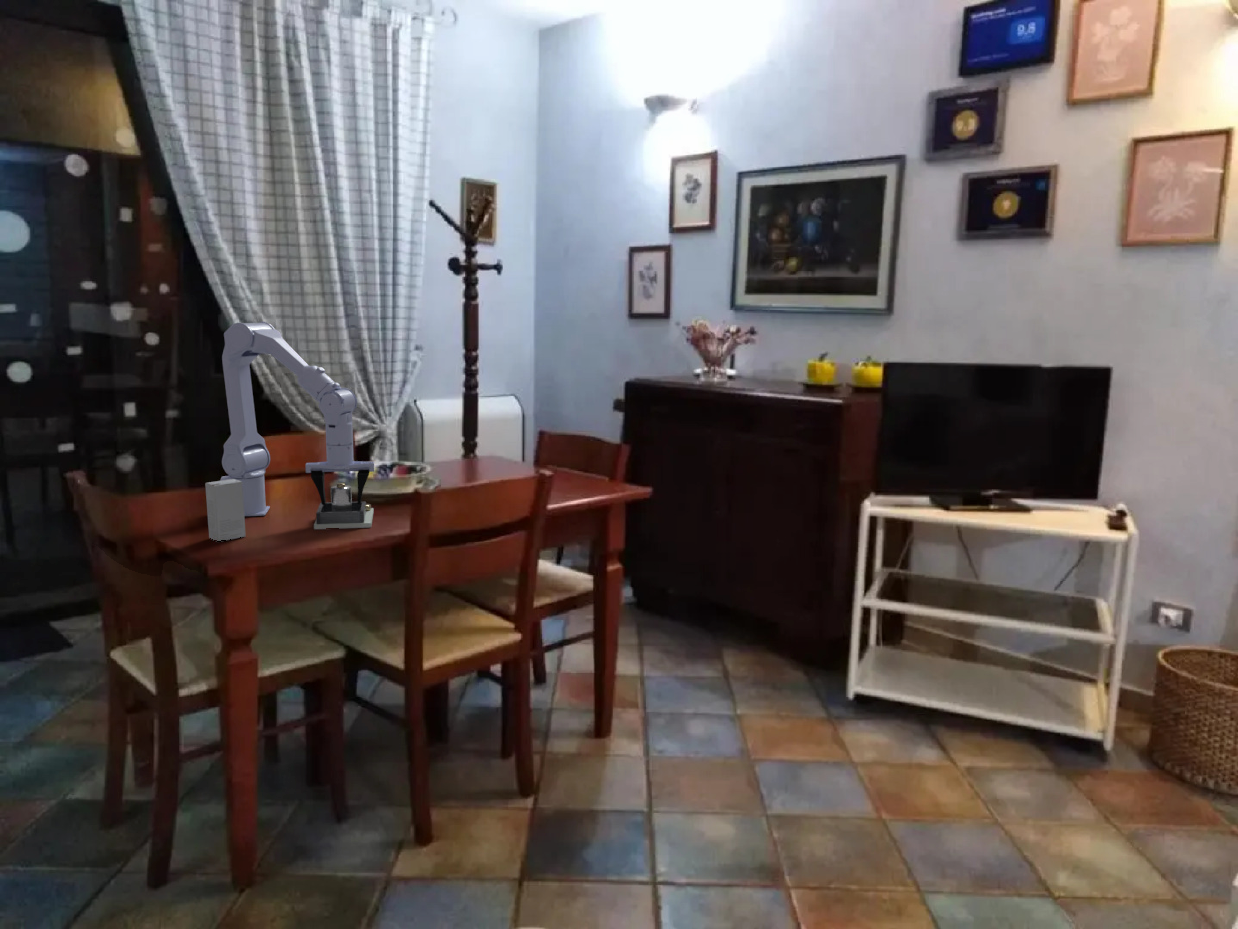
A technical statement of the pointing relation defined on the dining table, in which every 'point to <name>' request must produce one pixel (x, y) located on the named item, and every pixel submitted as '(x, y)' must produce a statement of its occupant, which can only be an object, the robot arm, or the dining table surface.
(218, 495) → the skincare box
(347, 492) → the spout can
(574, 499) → the dining table surface
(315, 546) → the dining table surface
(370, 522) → the box
